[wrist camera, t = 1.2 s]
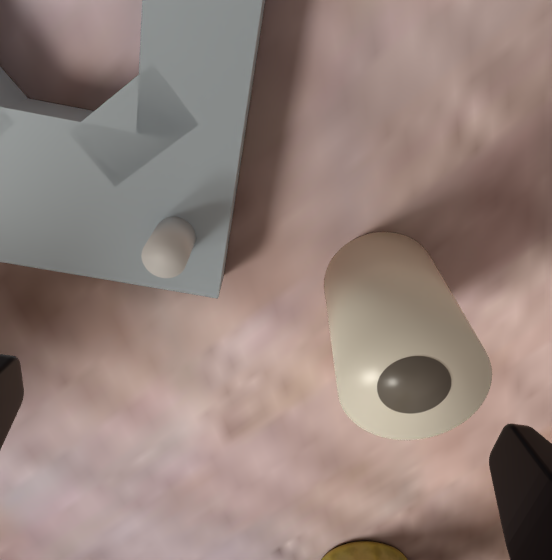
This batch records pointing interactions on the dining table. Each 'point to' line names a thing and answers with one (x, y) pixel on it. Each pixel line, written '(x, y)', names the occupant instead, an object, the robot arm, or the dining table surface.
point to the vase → (364, 552)
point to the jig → (137, 157)
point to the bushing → (401, 341)
